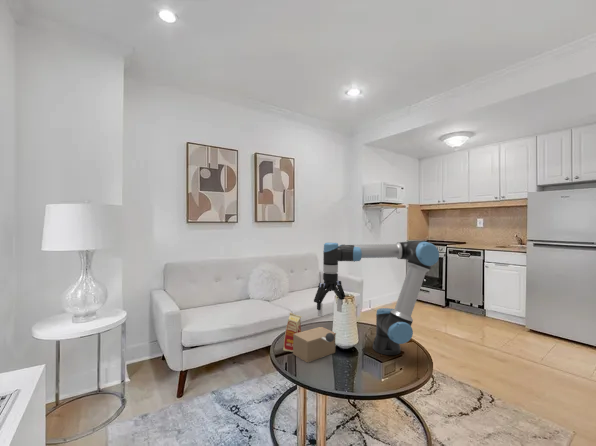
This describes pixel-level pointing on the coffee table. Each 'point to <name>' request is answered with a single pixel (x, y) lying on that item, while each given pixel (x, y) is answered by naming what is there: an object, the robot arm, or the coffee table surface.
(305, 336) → the carton lid
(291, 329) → the milk carton
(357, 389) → the coffee table surface
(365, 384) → the coffee table surface
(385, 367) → the coffee table surface
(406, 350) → the coffee table surface
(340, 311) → the robot arm
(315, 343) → the carton
